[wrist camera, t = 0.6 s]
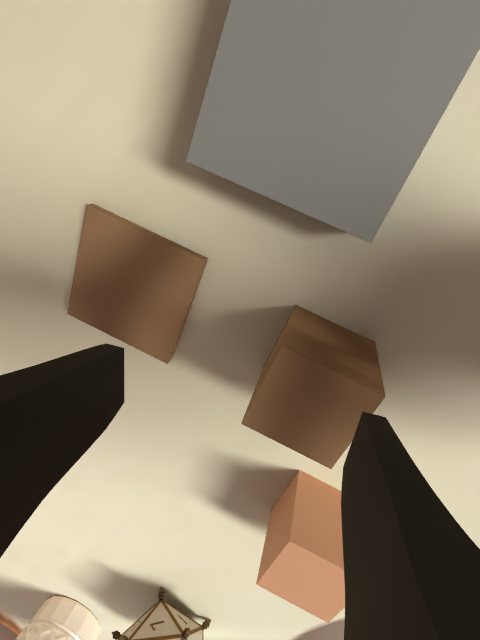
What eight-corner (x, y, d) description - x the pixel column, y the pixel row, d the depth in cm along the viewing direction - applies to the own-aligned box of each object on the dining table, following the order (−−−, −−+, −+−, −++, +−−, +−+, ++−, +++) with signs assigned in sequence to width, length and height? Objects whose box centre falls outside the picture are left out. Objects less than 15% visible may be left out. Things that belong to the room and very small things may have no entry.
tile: (207, 258, 19) (204, 260, 19) (171, 360, 22) (167, 364, 22) (92, 204, 20) (87, 204, 19) (72, 310, 23) (67, 313, 22)
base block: (474, 28, 13) (514, -14, 10) (365, 229, 17) (370, 243, 14) (279, -47, 14) (261, -108, 11) (213, 162, 18) (185, 161, 15)
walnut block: (375, 342, 19) (385, 396, 14) (333, 404, 21) (331, 469, 16) (296, 304, 19) (281, 346, 15) (262, 369, 21) (241, 423, 17)
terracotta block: (364, 502, 23) (370, 583, 18) (330, 541, 25) (328, 622, 20) (299, 469, 23) (289, 541, 19) (271, 510, 25) (256, 584, 21)
